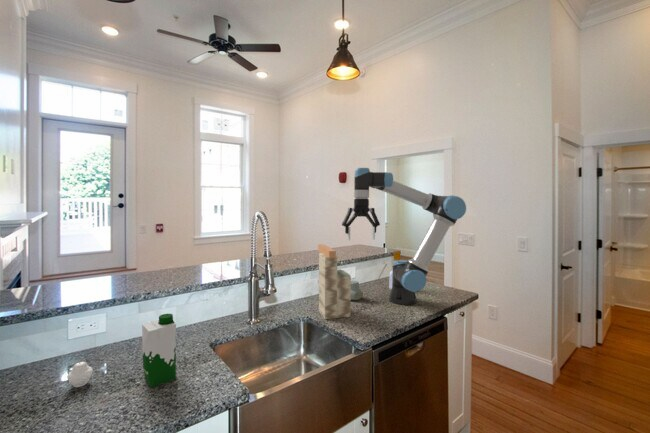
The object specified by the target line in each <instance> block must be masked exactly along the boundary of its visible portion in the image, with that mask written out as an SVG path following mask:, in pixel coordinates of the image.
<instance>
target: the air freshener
mask: <svg viewBox="0 0 650 433" xmlns="http://www.w3.org/2000/svg"><path fill="white" fill-rule="evenodd" d="M359 283H360V282H359V281H357V280H351V301H359V300H361V299H362V297H363V296H364V292H363V290H362V289H360V286H359V285H360V284H359Z"/></svg>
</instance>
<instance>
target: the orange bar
mask: <svg viewBox="0 0 650 433" xmlns="http://www.w3.org/2000/svg"><path fill="white" fill-rule="evenodd" d="M317 251H318V252H319V253H323V254H324V255H326V256H327V257H328V258H336V256H337V250H335V249H333V248H331V247H329V246H328V245H326V244H324V243H323V244H317Z"/></svg>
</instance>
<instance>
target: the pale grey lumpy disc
mask: <svg viewBox="0 0 650 433" xmlns="http://www.w3.org/2000/svg"><path fill="white" fill-rule="evenodd" d="M93 370H94V369H93V367H91V366H89V364H88V363H87V362H86V361H80V362H77V363H75V364H74V365H73V366H72V369H71V370H70V371H69V373H68V374H67V380H68V382H69V383H70V384H71V385H72V386H73V387H74V388H80V387H84V386H86V385H87V384H88V382H89V381H90V378H91V376H92V374H93V372H94V371H93Z"/></svg>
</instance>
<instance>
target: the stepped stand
mask: <svg viewBox="0 0 650 433" xmlns="http://www.w3.org/2000/svg"><path fill="white" fill-rule="evenodd" d="M351 278H352V276H351V274H350V273H348V272H346V271H345V270H343V269H338V256H337V255H336V258H328V257H327V256H326V255H324V254H323V253H321V252H318V311H319V313H320V314H321V315H322V317H323V318H324V320H328V319H329V320H330V319H337V318H339V319H340V318H349V317H351V303H352V302H351V301H352V300H351V281H352V279H351Z"/></svg>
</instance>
